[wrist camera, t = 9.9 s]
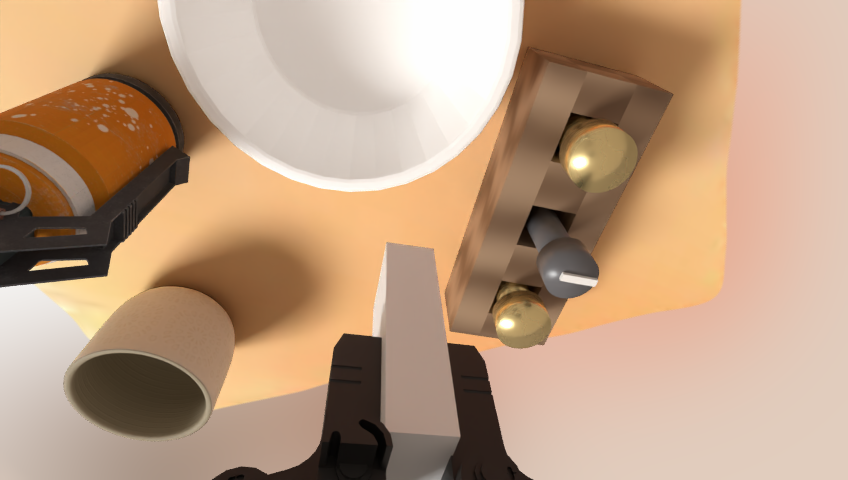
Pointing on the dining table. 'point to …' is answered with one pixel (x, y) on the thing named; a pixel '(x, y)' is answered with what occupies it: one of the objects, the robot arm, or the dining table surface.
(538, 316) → the knob
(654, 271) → the dining table surface
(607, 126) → the knob
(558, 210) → the mount
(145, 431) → the planter
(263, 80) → the bowl
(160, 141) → the canister
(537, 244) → the pot knob
